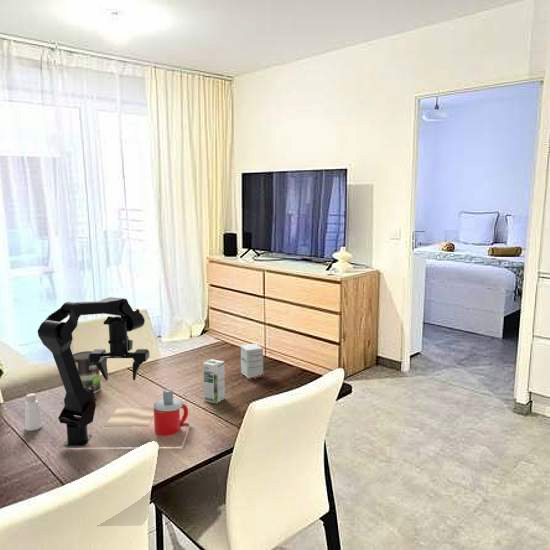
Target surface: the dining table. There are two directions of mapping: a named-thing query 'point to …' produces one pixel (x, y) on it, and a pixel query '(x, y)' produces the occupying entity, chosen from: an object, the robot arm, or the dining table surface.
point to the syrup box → (214, 381)
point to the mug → (169, 421)
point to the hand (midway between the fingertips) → (120, 380)
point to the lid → (168, 402)
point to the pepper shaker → (32, 413)
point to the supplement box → (251, 360)
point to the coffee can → (87, 371)
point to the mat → (131, 416)
